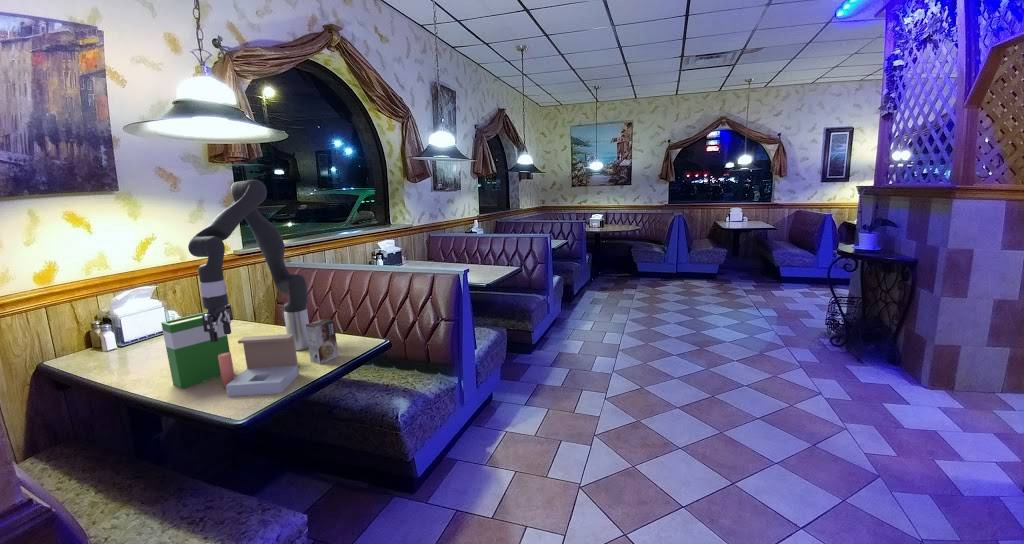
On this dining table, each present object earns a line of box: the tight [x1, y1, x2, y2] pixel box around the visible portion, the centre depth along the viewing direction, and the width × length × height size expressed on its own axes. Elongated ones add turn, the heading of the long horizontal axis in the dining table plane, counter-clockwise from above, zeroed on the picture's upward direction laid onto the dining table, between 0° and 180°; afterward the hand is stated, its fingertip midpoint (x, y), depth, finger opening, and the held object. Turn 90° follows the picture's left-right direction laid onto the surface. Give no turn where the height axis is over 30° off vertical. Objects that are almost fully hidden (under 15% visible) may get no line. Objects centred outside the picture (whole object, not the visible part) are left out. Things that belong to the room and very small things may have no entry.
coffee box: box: [306, 318, 339, 365], centre depth 188 cm, size 9×6×16 cm
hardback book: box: [160, 311, 231, 390], centre depth 173 cm, size 18×7×24 cm, turn 145°
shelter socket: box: [225, 333, 300, 397], centre depth 166 cm, size 16×18×16 cm
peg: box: [218, 352, 236, 389], centre depth 166 cm, size 4×4×12 cm
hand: (221, 337), depth 164 cm, fingers open, 8 cm apart
